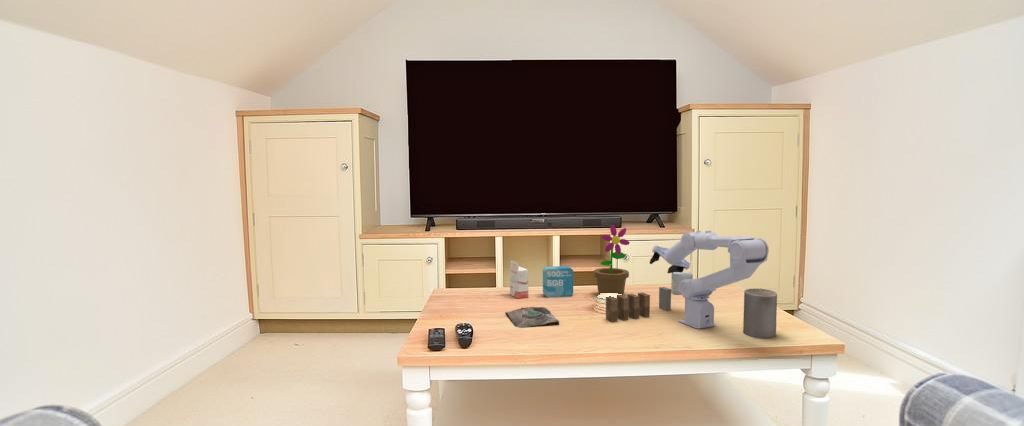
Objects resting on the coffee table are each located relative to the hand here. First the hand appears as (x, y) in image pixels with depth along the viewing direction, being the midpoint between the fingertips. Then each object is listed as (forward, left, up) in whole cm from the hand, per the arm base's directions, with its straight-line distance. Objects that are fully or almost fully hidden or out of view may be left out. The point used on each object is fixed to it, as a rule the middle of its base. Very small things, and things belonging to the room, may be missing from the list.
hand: (659, 266), depth 205 cm
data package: (+33, +26, -16) cm, 45 cm away
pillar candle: (-38, -10, -16) cm, 43 cm away
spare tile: (-2, -1, -16) cm, 16 cm away
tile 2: (-6, +11, -16) cm, 21 cm away
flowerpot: (+24, +6, -16) cm, 30 cm away
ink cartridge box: (+39, +41, -16) cm, 59 cm away
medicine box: (+15, -23, -16) cm, 32 cm away
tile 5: (-6, +25, -16) cm, 30 cm away
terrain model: (+8, +50, -17) cm, 53 cm away
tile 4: (-6, +20, -16) cm, 27 cm away
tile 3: (-6, +16, -16) cm, 23 cm away
